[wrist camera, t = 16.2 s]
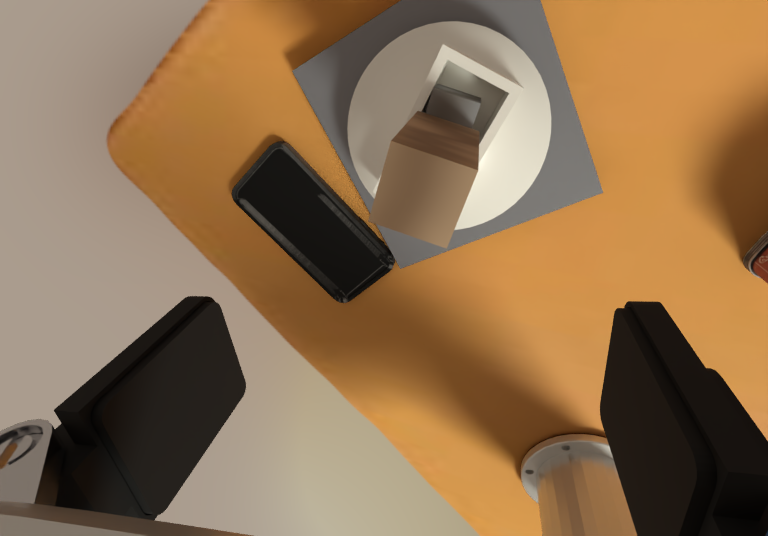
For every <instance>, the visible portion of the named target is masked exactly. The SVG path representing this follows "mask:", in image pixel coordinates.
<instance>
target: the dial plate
mask: <svg viewBox="0 0 768 536" xmlns="http://www.w3.org/2000/svg"><path fill="white" fill-rule="evenodd" d="M448 21H460V22H468V23H474V24H477V25H481V26H485V27H487V28H490V29H492V30H494V31H496V32H498V33H500V34H502V35H504V36H505V37H507V38H508V39H510V40H511V41H513V42H514V43H515V44H516V45H517V46H518V47H519V48H520V49H522V50H523V51H524V52H525V54H526V55H527V56H528V57H529V59H530V60H531V61H532V62H533V64H534V65H535V67H536V69H537V70H538V72H539V74H540V75H541V78H542V80H543V83H544V85H545V88H546V90H547V94H548V98H549V102H550V110H551V136H550V142H549V147H548V151H547V154H546V157H545V160H544V163H543V165H542V167H541V169H540V172H539V174H538V175H537V177H536V179H535V180H534V182H533V184H532V185H531V186H530V188H529V189H528V190H527V191H526V193H525V194H524V195H523V196H522V197H521V198H520V199H519V200H518V201H517V202H516V203H515V204H514V205H513V206H511V207H510V208H509V209H507V210H506V211H505V212H503V213H502V214H500V215H498V216H497V217H495V218H493V219H491V220H489V221H487V222H485V223H482V224H479V225H476V226H473V227H469V228H464V229H458V230H454V232H453V234H452V237H451V239H450V242H449V244H448V247H447V249H446V248H443V247H441V246H438V245H435V244H432V243H429V242H426V241H423V240H420V239H417V238H415V237H412V236H409V235H406V234H403V233H400V232H397V231H394V230H392V229H389V228H386V227H383V226H380V225H377V224H376V225H377V227H378V229H379V231H380V232H381V234H382V236H383V238H384V240H385V241H386V243H387V245H388V247H389V249H390V251H391V252H392V254H393V256H394V258H395V260H396V262H397V263H398V265H399V267H400V269H401V268H404V267H406V266H409V265H412V264H414V263H417V262H420V261H422V260H425V259H428V258H430V257H433V256H436V255H438V254H441V253H444V252H446V251H449V250H452V249H454V248H457V247H460V246H462V245H465V244H468V243H470V242H473V241H476V240H478V239H481V238H484V237H486V236H489V235H492V234H494V233H497V232H500V231H502V230H505V229H508V228H510V227H513V226H515V225H518V224H521V223H523V222H526V221H529V220H531V219H534V218H537V217H539V216H542V215H545V214H547V213H550V212H553V211H555V210H558V209H561V208H563V207H566V206H569V205H571V204H574V203H577V202H579V201H582V200H585V199H587V198H590V197H593V196H595V195H598V194H601V193H603V191H602V188H601V185H600V182H599V179H598V175H597V172H596V169H595V166H594V163H593V160H592V157H591V154H590V151H589V148H588V145H587V142H586V139H585V136H584V133H583V130H582V126H581V123H580V120H579V117H578V114H577V111H576V108H575V105H574V102H573V99H572V96H571V93H570V90H569V87H568V84H567V81H566V77H565V74H564V71H563V68H562V65H561V62H560V59H559V56H558V53H557V50H556V47H555V44H554V41H553V38H552V35H551V32H550V29H549V25H548V22H547V19H546V16H545V13H544V10H543V7H542V4H541V1H540V0H401V1H399V2H398V3H396V4H395V5H393V6H392V7H390V8H388V9H387V10H385V11H384V12H382V13H381V14H379V15H378V16H376V17H375V18H373V19H372V20H370V21H368V22H367V23H365V24H364V25H362V26H361V27H359V28H358V29H356V30H355V31H353V32H351V33H350V34H348V35H347V36H345V37H344V38H342V39H341V40H339V41H338V42H336V43H335V44H333V45H331V46H330V47H328V48H327V49H325V50H324V51H322V52H321V53H319V54H318V55H316V56H315V57H313V58H311V59H310V60H308V61H307V62H305V63H304V64H302V65H301V66H299V67H298V68H296V69H295V70H293V71H292V72H293V73H294V75H295V77H296V79H297V81H298V83H299V84H300V86H301V88H302V90H303V92H304V94H305V95H306V97H307V99H308V101H309V103H310V105H311V106H312V108H313V110H314V112H315V114H316V115H317V117H318V119H319V121H320V123H321V125H322V126H323V128H324V130H325V132H326V134H327V136H328V137H329V139H330V141H331V143H332V145H333V147H334V148H335V150H336V152H337V154H338V156H339V157H340V159H341V161H342V163H343V165H344V167H345V168H346V170H347V172H348V174H349V176H350V178H351V179H352V181H353V183H354V185H355V187H356V189H357V190H358V192H359V194H360V196H361V198H362V199H363V201H364V203H365V205H366V207H367V209H368V210H369V212H370V213H371V209H372V206H373V202H374V198H373V197H372V196H371V194H370V193H369V192H368V191H367V189H366V188H365V186H364V185H363V183H362V181H361V180H360V178H359V176H358V174H357V172H356V169H355V167H354V164H353V161H352V158H351V155H350V149H349V144H348V130H347V128H348V115H349V109H350V104H351V100H352V97H353V94H354V91H355V88H356V86H357V84H358V82H359V80H360V78H361V76H362V74H363V73H364V71H365V70H366V68H367V66H368V65H369V64H370V62H371V61H372V60H373V59H374V58H375V56H376V55H377V54H378V53H379V52H380V51H381V50H382V49H384V48H385V47H386V46H387V45H388V44H389V43H391V42H392V41H394V40H395V39H396V38H398V37H399V36H401V35H403V34H405V33H407V32H409V31H411V30H413V29H415V28H418V27H421V26H424V25H427V24H432V23H438V22H448Z"/></svg>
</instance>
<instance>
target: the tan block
mask: <svg viewBox="0 0 768 536" xmlns="http://www.w3.org/2000/svg"><path fill="white" fill-rule="evenodd" d="M480 105H481V98H480V97H477V96H474V95H471V94H468V93H465V92H462V91H459V90H456V89H453V88H450V87H447V86H444V85H441V84H437V85H436V86H435V87H434V88H433V91H432V94H431V97H430V101H429V104H428V107H427V110H426V113H423V112H420V111H417V112H416V113H415V114H414V116H413V117H412V118H411V119H410V120H409V121H408V122H407V123H406V124H405V126H404V127H403V128H402V129H401V130H400V131H399V132H398V133H397V135H396V136H395V137H394V138H393V139H392V140H391V142H390V146H389V149H388V153H387V156H386V160H385V163H384V167H383V170H382V174H381V177H380V181H379V185H378V188H377V192H376V195H375V199H374V202H373V206H372V209H371V213H370V216H369V220H368V222H371V223H374V224H377V225H380V226H383V227H386V228H389V229H392V230H394V231H397V232H400V233H403V234H406V235H409V236H412V237H415V238H417V239H420V240H423V241H426V242H429V243H432V244H435V245H438V246H441V247H443V248H446V249H447V247H448V244H449V242H450V239H451V237H452V234H453V232H454V229H455V227H456V224H457V222H458V220H459V217H460V215H461V212H462V210H463V207H464V205H465V202H466V200H467V197H468V195H469V192H470V190H471V187H472V185H473V182H474V180H475V178H476V175H477V173H478V166H479V131H477V130H474V129H472V126H473V124H474V121H475V118H476V116H477V113H478V111H479V108H480Z"/></svg>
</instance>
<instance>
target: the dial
mask: <svg viewBox="0 0 768 536" xmlns="http://www.w3.org/2000/svg"><path fill="white" fill-rule="evenodd" d="M437 84H441V85H444V86H447V87H450V88H453V89H456V90H459V91H462V92H465V93H468V94H471V95H474V96H477V97H480V98H481V105H480V108H479V111H478V113H477V116H476V118H475V121H474V124H473V126H472V129H474V130H477V131H479V166H478V173H477V175H476V178H475V180H474V182H473V185H472V187H471V190H470V192H469V195H468V197H467V200H466V202H465V205H464V207H463V210H462V212H461V215H460V217H459V220H458V222H457V224H456V227H455V229H454V230H458V229H464V228H469V227H473V226H476V225H479V224H482V223H485V222H487V221H489V220H491V219H493V218H495V217H497V216H498V215H500V214H502V213H503V212H505V211H506V210H507V209H509V208H510V207H511V206H513V205H514V204H515V203H516V202H517V201H518V200H519V199H520V198H521V197H522V196H523V195H524V194H525V193H526V191H527V190H528V189H529V188H530V186H531V185H532V184H533V182H534V180H535V179H536V177H537V175H538V174H539V172H540V169H541V167H542V165H543V163H544V160H545V157H546V154H547V151H548V147H549V142H550V136H551V110H550V102H549V98H548V94H547V90H546V88H545V85H544V83H543V80H542V78H541V75H540V74H539V72H538V70H537V69H536V67H535V65H534V64H533V62H532V61H531V60H530V59H529V57H528V56H527V55H526V54H525V52H524V51H523V50H522V49H520V48H519V47H518V46H517V45H516V44H515V43H514V42H513V41H511V40H510V39H508V38H507V37H505V36H504V35H502V34H500V33H498V32H496V31H494V30H492V29H490V28H487V27H485V26H481V25H477V24H474V23H468V22H460V21H448V22H438V23H432V24H427V25H424V26H421V27H418V28H415V29H413V30H411V31H409V32H407V33H405V34H403V35H401V36H399V37H398V38H396V39H395V40H394V41H392V42H391V43H389V44H388V45H387V46H386V47H385V48H384V49H382V50H381V51H380V52H379V53H378V54H377V55H376V56H375V58H374V59H373V60H372V61H371V62H370V64H369V65H368V66H367V68H366V70H365V71H364V73H363V74H362V76H361V78H360V80H359V82H358V84H357V86H356V88H355V91H354V94H353V97H352V100H351V104H350V109H349V115H348V128H347V130H348V144H349V149H350V155H351V158H352V161H353V164H354V167H355V169H356V172H357V174H358V176H359V178H360V180H361V181H362V183H363V185H364V186H365V188H366V189H367V191H368V192H369V193H370V194H371V196H372V197H373V198H374V199H375V195H376V192H377V188H378V185H379V181H380V177H381V174H382V170H383V167H384V163H385V160H386V156H387V153H388V149H389V146H390V142H391V140H392V139H393V138H394V137H395V136H396V135H397V133H398V132H399V131H400V130H401V129H402V128H403V127H404V126H405V124H406V123H407V122H408V121H409V120H410V119H411V118H412V117H413V116H414V114H415V113H416V112H417V111H420V112H423V113H426V110H427V107H428V104H429V101H430V97H431V94H432V91H433V88H434V87H435V86H436V85H437Z"/></svg>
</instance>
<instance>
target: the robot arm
mask: <svg viewBox="0 0 768 536" xmlns="http://www.w3.org/2000/svg"><path fill="white" fill-rule="evenodd" d="M245 389H246V382H245V379H244V376H243V373H242V370H241V367H240V364H239V361H238V358H237V355H236V352H235V349H234V346H233V343H232V340H231V337H230V334H229V331H228V328H227V325H226V322H225V319H224V316H223V313H222V310H221V307H220V305H219V304H218V303H216V302H215V301H214V300H213V299H212V298H211V297H203V296H201V297H200V296H199V297H197V296H190V297H186V298H185V299H183V300H182V301H181V302H180V303H179V304H177V305H176V306H175V307H174V308H173V309H172V310H170V311H169V312H168V313H167V314H166V315H165V316H164V317H162V318H161V319H160V320H159V321H158V322H157V323H155V324H154V325H153V326H152V327H150V328H149V329H148V330H147V331H146V332H145V333H144V334H142V335H141V336H140V337H139V338H138V339H136V340H135V341H134V342H133V343H132V344H131V345H129V346H128V347H127V348H126V349H125V350H124V351H122V352H121V353H120V354H119V355H118V356H117V357H115V358H114V359H113V360H112V361H111V362H110V363H108V364H107V365H106V366H105V367H104V368H102V369H101V370H100V371H99V372H98V373H97V374H96V375H94V376H93V377H92V378H91V379H90V380H89V381H87V382H86V383H85V384H84V385H83V386H82V387H80V388H79V389H78V390H77V391H76V392H75V393H73V394H72V395H71V396H70V397H69V398H67V399H66V400H65V401H64V402H63V403H62V404H60V405H59V406H58V407H57V408H56V409H55V410H54V412H55V413H56V415H57V416H58V418H59V420H60V421H61V423H62V424H61V425H60V426H58V427H57V428H56V429H54V427H53V426H52V424H51V423H49V421H47V420H42V419H36V420H28V421H25V422H22V423H18V424H15V425H13V426H11V427H9V428H6V429H4V430H2V431H1V432H0V536H252V535H245V534H239V533H233V532H226V531H219V530H214V529H207V528H201V527H194V526H187V525H181V524H174V523H167V522H161V521H154V520H155V518H156V517H157V515H159V514H161V513H163V512H164V511H165V510H166V509H167V507H168V506H169V504H170V503H171V501H172V500H173V498H174V497H175V496H176V494H177V493H178V491H179V490H180V488H181V487H182V485H183V483H184V482H185V481H186V479H187V478H188V476H189V475H190V473H191V472H192V470H193V469H194V468H195V466H196V465H197V463H198V462H199V460H200V459H201V457H202V456H203V454H204V453H205V451H206V450H207V448H208V447H209V446H210V444H211V443H212V441H213V439H214V438H215V437H216V435H217V434H218V432H219V431H220V429H221V428H222V426H223V425H224V423H225V422H226V420H227V419H228V418H229V416H230V415H231V413H232V412H233V410H234V409H235V407H236V406H237V404H238V403H239V401H240V400H241V398H242V397H243V395H244V393H245ZM600 416H601V421H602V425H603V428H604V431H605V434H606V437H607V438H604V437H600V436H596V435H588V434H569V435H562V436H557V437H553V438H550V439H547V440H545V441H543V442H541V443H539V444H537V445H536V446H534V447H533V448H532V449H531V450H530V451H529V452H528V453H527V454H526V455H525V457H524V459H523V461H522V464H521V468H520V469H521V480H522V484H523V487H524V489H525V491H526V492H527V493H528V495H529V496H530V497H531V498H532V499H533V500H534V501H536V502H537V503H538V504H539V511H540V519H541V527H542V536H768V441H767V440H766V438H765V437H764V435H763V434H762V433H761V431H760V430H759V428H758V427H757V426H756V424H755V423H754V421H753V420H752V419H751V417H750V416H749V414H748V413H747V412H746V410H745V409H744V407H743V406H742V405H741V403H740V402H739V400H738V399H737V398H736V396H735V395H734V393H733V392H732V391H731V389H730V388H729V386H728V385H727V384H726V382H725V381H724V379H723V378H722V377H721V376H720V375H719V374H718V372H717V371H715V370H713V369H711V368H705V366H704V365H703V363H702V362H701V360H700V359H699V358H698V356H697V355H696V353H695V352H694V350H693V349H692V347H691V346H690V344H689V343H688V342H687V340H686V339H685V337H684V336H683V334H682V333H681V331H680V330H679V328H678V327H677V325H676V324H675V323H674V321H673V320H672V318H671V317H670V315H669V314H668V312H667V311H666V309H665V308H664V306H663V305H662V304H661V303H660V302H631V301H628V302H627V303H626V305H625V307H624V308H617V309H616V311H615V314H614V319H613V326H612V332H611V338H610V345H609V351H608V357H607V364H606V370H605V377H604V383H603V389H602V396H601V402H600Z"/></svg>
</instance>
